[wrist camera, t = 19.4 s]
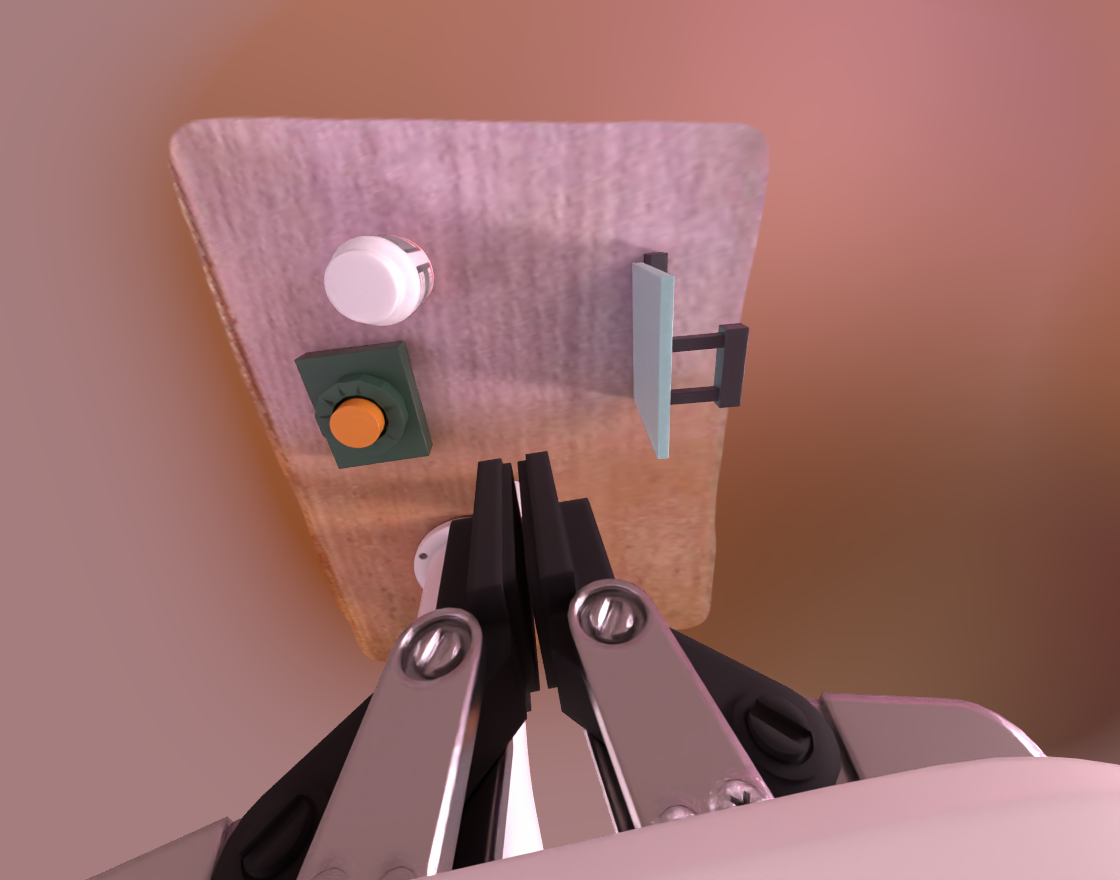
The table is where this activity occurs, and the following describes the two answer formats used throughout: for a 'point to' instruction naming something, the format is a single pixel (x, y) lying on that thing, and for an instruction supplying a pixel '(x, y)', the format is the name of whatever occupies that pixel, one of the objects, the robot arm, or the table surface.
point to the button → (357, 423)
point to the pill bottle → (378, 279)
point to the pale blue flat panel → (656, 356)
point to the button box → (377, 379)
